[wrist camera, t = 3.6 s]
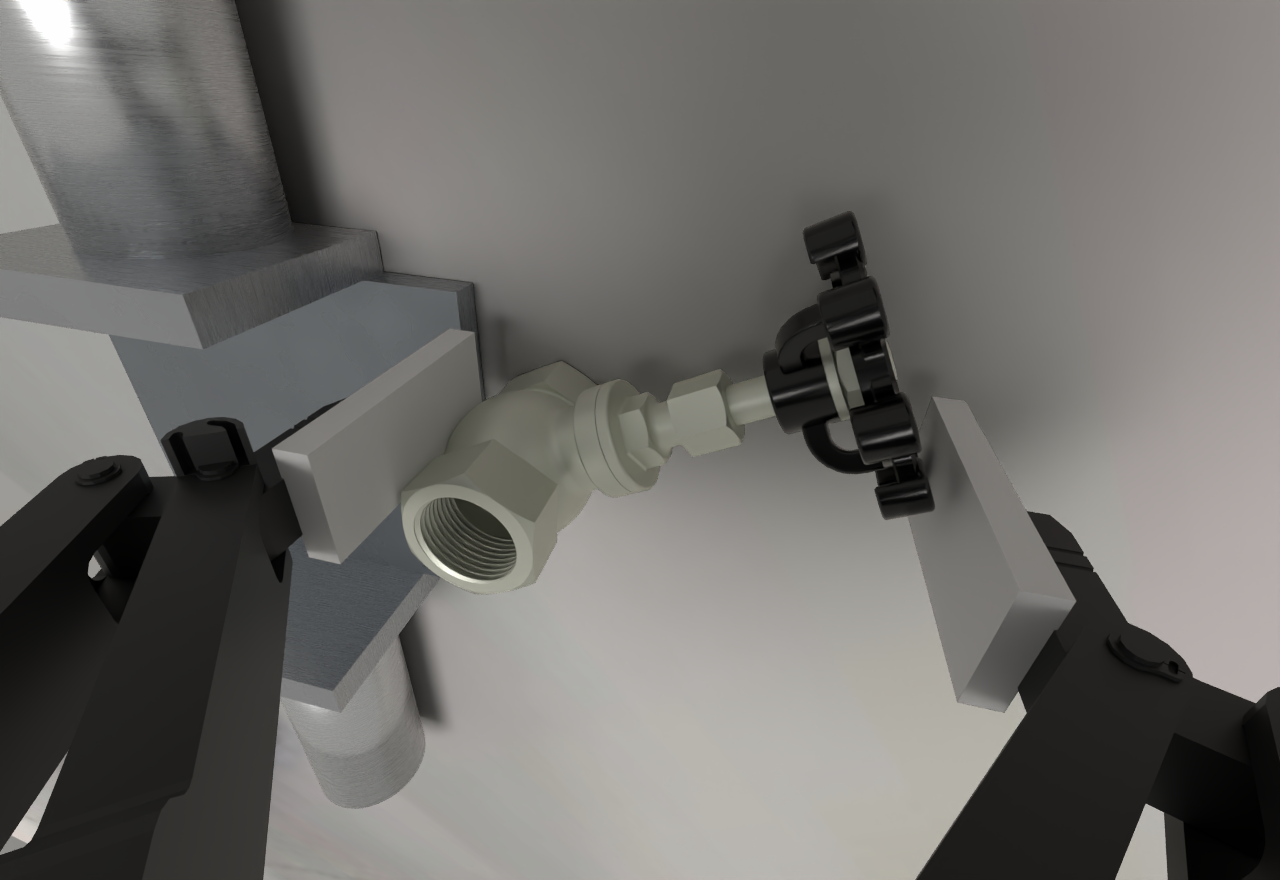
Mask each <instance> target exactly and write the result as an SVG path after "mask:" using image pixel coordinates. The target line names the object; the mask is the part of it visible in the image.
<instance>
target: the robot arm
mask: <svg viewBox="0 0 1280 880" xmlns="http://www.w3.org/2000/svg"><path fill="white" fill-rule="evenodd" d="M480 403H482V397H481V388H480V378H479V369H478V360H477V351H476V341H475V332H470V331H463V330H456V329H448V330H447V331H445V332H444V333H442V334H441V335H440V336H438V337H437V338H435V339H434V340H432V341H431V342H429V343H428V344H426V345H425V346H423V347H422V348H420V349H419V350H417V351H416V352H414V353H413V354H411V355H410V356H408V357H407V358H405V359H404V360H402V361H401V362H399V363H398V364H396V365H395V366H394V367H392V368H391V369H389V370H388V371H386V372H385V373H383V374H382V375H380V376H379V377H377V378H376V379H374V380H373V381H371V382H370V383H368V384H367V385H365V386H364V387H362V388H361V389H359V390H358V391H356V392H355V393H353V394H352V395H350V396H349V397H348V398H344V399H342V400H339V401H337V402H334V403H331V404H329V405H326V406H323V407H322V408H320V409H319V410H317V411H316V412H314V413H313V414H311V415H310V416H308V417H307V420H305V419H304V420H302V421H301V422H299V423H298V424H296V425H294V428H293V429H292V428H290V429H288V430H287V431H285V432H284V433H282V434H281V435H279V436H278V437H276V438H275V439H273V440H272V441H270V442H269V443H267V444H266V445H264V446H263V447H261V448H260V449H258V450H256V451H255V452H253V449H252V446H251V444H250V441H249V438H248V435H247V433H246V430H245V427H244V424H243V422H241V421H239V420H237V419H235V418H228V417H215V418H206V419H201V420H196V421H192V422H189V423H187V424H184V425H181V426H178V427H177V428H175V429H173V430H171V431H170V432H168V433H166V435H165V436H164V437H163V438H162V439H161V440H160V441H161V443H162V446H163V448H164V450H165V452H166V454H167V456H168V459H169V461H170V463H171V465H172V467H173V469H174V472H175V474H176V476H168V477H149V476H148V474H147V472H146V470H145V468H144V466H143V464H142V462H141V459H139V458H136V457H134V456H126V455H116V456H109V457H107V456H103V457H99V458H96V459H95V460H94V459H91V460H88V461H85V462H83V463H82V464H80V465H78V466H75V467H73V468H71V469H69V470H68V471H66V472H65V473H63V474H61V475H60V476H59V477H57V478H56V479H55V480H54V481H53V482H52V483H50V484H49V485H48V486H47V487H46V488H45V489H43V490H42V491H41V492H40V493H39V494H38V495H36V496H35V497H34V498H33V499H32V500H31V501H30V502H28V503H27V504H26V505H25V506H24V507H23V508H21V509H20V510H19V511H18V512H17V513H16V514H14V515H13V516H12V517H11V518H10V519H9V520H7V521H6V522H5V523H4V524H3V525H2V526H0V851H1V850H2V848H3V846H4V845H5V844H6V842H7V841H8V839H9V838H10V836H11V835H12V833H13V832H14V830H15V829H16V827H17V826H18V824H19V823H20V821H21V820H22V818H23V817H24V815H25V814H26V812H27V811H28V809H29V808H30V806H31V805H32V803H33V802H34V801H35V799H36V798H37V796H38V795H39V793H40V792H41V790H42V789H43V787H44V786H45V784H46V783H47V781H48V780H49V778H50V777H51V775H52V774H53V772H54V771H55V769H56V768H57V766H58V765H59V763H60V762H61V760H62V759H63V757H64V756H65V754H66V753H67V751H68V750H69V751H68V753H67V756H66V759H65V761H64V764H63V766H62V769H61V771H60V774H59V776H58V779H57V781H56V784H55V786H54V789H53V791H52V794H51V796H50V799H49V801H48V804H47V806H46V809H45V812H44V814H43V817H42V819H41V822H40V824H39V827H38V829H37V831H36V833H35V834H34V836H33V838H32V840H31V841H30V842H29V843H28V844H27V845H26V846H25V847H23V848H20V849H17V850H14V851H12V852H8V853H5V854H2V855H0V880H263V875H264V864H265V854H266V843H267V832H268V822H269V811H270V800H271V789H272V779H273V768H274V757H275V747H276V736H277V725H278V715H279V704H280V693H281V683H282V672H283V661H284V650H285V640H286V629H287V618H288V608H289V597H290V586H291V576H292V565H293V560H292V557H291V553H290V551H289V548H288V547H290V546H291V545H292V544H293V543H294V542H295V541H296V540H297V539H299V538H300V537H301V536H302V539H303V541H304V544H305V547H306V550H307V553H308V556H309V557H310V558H315V559H319V560H324V561H328V562H333V563H337V564H341V563H342V562H343V561H344V560H345V559H346V558H347V557H348V556H349V555H350V554H351V553H352V552H353V551H354V550H355V549H356V548H357V547H358V546H359V545H360V544H361V543H362V542H363V541H364V540H365V539H366V538H367V537H368V536H369V535H370V534H371V533H372V531H373V530H374V529H375V528H376V527H377V526H378V525H379V524H380V523H381V522H382V521H383V520H384V519H385V518H386V517H387V516H388V515H389V514H390V513H391V512H392V511H393V510H394V509H395V508H396V507H397V506H398V505H399V504H400V503H401V491H402V490H403V489H404V488H405V487H406V486H407V485H408V484H409V483H410V482H411V481H412V480H413V479H414V478H415V477H416V476H417V475H418V474H419V473H420V472H421V471H422V470H423V469H424V468H425V467H426V466H427V465H428V464H429V463H430V462H431V461H432V460H433V459H434V458H435V457H438V456H441V455H444V454H445V450H446V447H447V444H448V442H449V439H450V437H451V435H452V433H453V431H454V430H455V428H456V427H457V425H458V424H459V422H460V421H461V420H462V419H463V418H464V417H465V416H466V414H467V413H468V412H470V411H471V410H472V409H473V408H474V407H476V406H477V405H478V404H480ZM919 435H920V439H921V444H922V451H921V452H920V453H918V457H919V458H920V459H922V461H923V464H924V467H925V470H926V473H927V477H928V480H929V484H930V487H931V491H932V495H933V498H934V503H935V510H934V511H932V512H928V513H922V514H917V515H911V516H908V519H909V522H910V526H911V530H912V534H913V537H914V541H915V545H916V549H917V552H918V556H919V560H920V564H921V568H922V571H923V575H924V579H925V583H926V586H927V590H928V594H929V598H930V601H931V605H932V609H933V613H934V616H935V620H936V624H937V628H938V632H939V635H940V639H941V643H942V647H943V650H944V654H945V658H946V662H947V665H948V669H949V673H950V677H951V681H952V684H953V688H954V692H955V696H956V699H957V702H958V703H963V704H967V705H972V706H976V707H981V708H985V709H990V710H994V711H999V712H1003V713H1005V711H1006V710H1007V708H1008V706H1009V705H1010V703H1011V702H1012V700H1013V699H1014V697H1015V696H1016V694H1017V693H1018V691H1019V693H1020V696H1021V699H1022V701H1023V704H1024V707H1025V709H1026V712H1027V714H1026V715H1025V717H1024V718H1023V720H1022V721H1021V723H1020V724H1019V726H1018V727H1017V729H1016V730H1015V732H1014V733H1013V735H1012V736H1011V737H1010V739H1009V740H1008V742H1007V743H1006V745H1005V746H1004V748H1003V749H1002V751H1001V753H1000V754H999V756H998V757H997V759H996V760H995V762H994V763H993V764H992V766H991V767H990V769H989V770H988V772H987V773H986V775H985V776H984V778H983V779H982V781H981V782H980V784H979V785H978V787H977V788H976V790H975V791H974V793H973V794H972V796H971V797H970V799H969V800H968V802H967V803H966V805H965V806H964V808H963V809H962V811H961V812H960V814H959V815H958V817H957V818H956V820H955V821H954V823H953V824H952V826H951V827H950V829H949V830H948V832H947V833H946V835H945V836H944V838H943V839H942V841H941V842H940V844H939V845H938V847H937V848H936V850H935V851H934V853H933V854H932V856H931V857H930V859H929V860H928V862H927V863H926V865H925V866H924V868H923V869H922V871H921V872H920V874H919V875H918V876H917V878H916V879H915V880H1115V878H1116V876H1117V873H1118V871H1119V868H1120V866H1121V863H1122V861H1123V858H1124V856H1125V853H1126V851H1127V848H1128V846H1129V843H1130V841H1131V838H1132V836H1133V833H1134V831H1135V828H1136V826H1137V823H1138V821H1139V818H1140V816H1141V813H1142V811H1143V808H1144V806H1145V804H1148V805H1150V806H1152V807H1154V808H1156V809H1158V810H1160V811H1162V812H1164V820H1165V838H1166V855H1167V873H1168V880H1280V687H1277V688H1275V689H1273V690H1271V691H1269V692H1267V693H1266V694H1265V695H1264V696H1263V697H1262V698H1261V699H1260V700H1259V701H1258V702H1257V703H1253V702H1251V701H1248V700H1246V699H1243V698H1241V697H1238V696H1236V695H1234V694H1231V693H1229V692H1226V691H1224V690H1221V689H1219V688H1216V687H1214V686H1211V685H1209V684H1206V683H1204V682H1201V681H1199V680H1197V679H1195V678H1193V674H1192V672H1191V670H1190V669H1189V667H1188V665H1187V664H1186V662H1185V661H1184V659H1183V658H1182V657H1181V656H1180V655H1179V654H1178V653H1177V652H1175V651H1174V650H1173V649H1172V648H1171V647H1170V646H1169V645H1168V644H1166V643H1165V642H1163V641H1162V640H1160V639H1159V638H1157V637H1156V636H1154V635H1152V634H1151V633H1149V632H1147V631H1145V630H1143V629H1140V628H1138V627H1136V626H1134V625H1131V624H1129V623H1128V622H1127V621H1126V619H1125V617H1124V616H1123V614H1122V613H1121V611H1120V609H1119V608H1118V606H1117V605H1116V603H1115V601H1114V600H1113V598H1112V597H1111V595H1110V594H1109V592H1108V590H1107V589H1106V587H1105V586H1104V584H1103V582H1102V581H1101V579H1100V578H1099V576H1098V574H1097V573H1096V572H1093V569H1094V568H1093V567H1092V565H1091V563H1090V562H1089V560H1088V559H1087V557H1086V556H1083V554H1084V552H1083V551H1082V549H1081V547H1080V546H1079V544H1078V543H1077V541H1076V539H1075V538H1074V536H1073V535H1072V533H1071V532H1069V531H1068V530H1067V529H1066V528H1065V527H1063V526H1062V525H1061V524H1060V523H1059V522H1058V521H1056V520H1055V519H1054V518H1053V517H1052V516H1050V515H1047V514H1041V513H1035V512H1029V511H1026V509H1025V508H1024V506H1023V504H1022V502H1021V500H1020V499H1019V497H1018V495H1017V493H1016V491H1015V490H1014V488H1013V486H1012V484H1011V482H1010V481H1009V479H1008V477H1007V475H1006V473H1005V472H1004V470H1003V468H1002V466H1001V464H1000V463H999V461H998V459H997V457H996V455H995V454H994V452H993V450H992V448H991V446H990V445H989V443H988V441H987V439H986V437H985V435H984V434H983V432H982V430H981V428H980V426H979V425H978V423H977V421H976V419H975V417H974V416H973V414H972V412H971V410H970V408H969V407H968V405H967V403H966V401H962V400H955V399H947V398H940V397H933V396H932V399H931V401H930V404H929V407H928V410H927V412H926V415H925V418H924V421H923V424H922V426H921V429H920V432H919ZM93 555H94V557H95V559H96V560H97V562H98V563H99V565H100V567H101V568H102V569H101V570H100V571H99V572H98V573H97V575H96V576H95V577H93V578H90V577H89V576H88V566H89V561H90V560H91V558H92V556H93Z"/></svg>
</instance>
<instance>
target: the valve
mask: <svg viewBox="0 0 1280 880" xmlns="http://www.w3.org/2000/svg"><path fill="white" fill-rule="evenodd" d="M803 237H804V241H805V245H806V249H807V252H808V256H809V259H810V263H811V264H816V265H817V267H818V270H819V273H820V276H821V279H822V280H827V279H830V278H831V281H832V286H833V289H830V290H827V291H825V292H822V293H819V294H818V295H817V301H818V304H815V305H813V306H810V307H808V308H805V309H804V310H802V311H800V312H798V313H796V314H795V315H794V316H792V317H791V318H790V319H789V320H788V321H787V322H786V323H785V324H784V325H783V326H782V328H781V329H780V331H779V333H778V334H777V338H776V341H775V350H771V351H768V352H766V353H765V354H764V356H763V370H764V375H763V376H760V377H756V378H753V379H750V380H746V381H743V382H740V383H736V384H733V383H732V381H731V379H730V378H729V376H728V375H727V374H726V373H725V372H724V371H723V370H721V369H718V370H715V371H712V372H709V373H706V374H702V375H699V376H696V377H693V378H690V379H687V380H683V381H680V382H677V383H674V384H673V387H672V389H671V391H670V394H669V396H668V398H667V401H665V402H662V403H660V402H659V401H658V400H657V399H656V398H655V397H654V396H653V395H652V394H650V393H649V392H645V393H642V394H639V392H638V391H637V390H636V389H635V388H634V387H633V385H631V384H630V383H628V382H627V381H625V380H621V379H616V380H613V381H610V382H607V383H604V384H601V385H596V384H595V383H594V382H593V381H591V380H590V379H589V378H588V377H586V376H585V375H583V374H582V373H580V372H579V371H578V370H576V369H575V368H573V367H571V366H570V365H568V364H566V363H564V362H563V361H560V362H556V363H553V364H550V365H547V366H544V367H541V368H538V369H535V370H533V371H530V372H528V373H525V374H523V375H520V376H518V377H516V378H514V379H512V380H511V381H510V382H509V383H508V384H507V385H506V386H505V387H504V388H503V389H502V390H501V391H500V392H499V393H498V394H497V395H496V396H494V397H491V398H489V399H487V400H485V401H483V402H482V403H480V404H478V405H477V406H476V407H474V408H473V409H472V410H471V411H470V412H468V413H467V414H466V416H465V417H464V418H463V419H462V420H461V421H460V422H459V424H458V425H457V427H456V428H455V430H454V431H453V433H452V435H451V437H450V439H449V442H448V444H447V447H446V450H445V454H444V455H441V456H438V457H435V458H434V459H433V460H432V461H431V462H430V463H429V464H428V465H427V466H426V467H425V468H424V469H423V470H422V471H421V472H420V473H419V474H418V475H417V476H416V477H415V478H414V479H413V480H412V481H411V482H410V483H409V484H408V485H407V486H406V487H405V488H404V489H403V490H402V491H401V513H402V523H403V529H404V533H405V537H406V541H407V543H408V546H409V548H410V550H411V552H412V553H413V554H414V555H415V556H416V557H417V558H418V559H419V560H420V561H421V562H422V563H423V564H424V565H425V566H426V567H428V568H429V569H430V570H431V571H433V572H434V573H435V574H437V575H438V576H439V577H441V578H442V579H444V580H446V581H447V582H449V583H451V584H453V585H455V586H457V587H459V588H461V589H464V590H466V591H468V592H471V593H474V594H495V593H503V592H507V591H511V590H515V589H519V588H522V587H525V586H528V585H531V584H533V583H536V581H537V579H538V577H539V575H540V573H541V571H542V569H543V567H544V566H545V564H546V562H547V560H548V558H549V556H550V554H551V552H552V551H553V549H554V547H555V545H556V543H557V533H558V532H559V531H561V530H562V529H564V528H565V527H566V526H567V525H569V524H570V523H571V522H572V521H573V520H574V519H575V518H576V517H577V516H578V514H579V513H580V512H581V511H582V509H583V508H584V506H585V505H586V503H587V501H588V499H589V497H590V495H591V493H592V491H593V490H597V489H599V490H600V491H601V492H602V493H604V494H605V495H607V496H610V497H621V496H625V495H629V494H633V493H638V492H641V491H646V490H649V489H651V488H652V487H653V486H654V485H655V483H656V481H657V479H658V475H659V471H660V465H664V464H666V463H667V461H668V460H669V458H670V456H671V454H672V449H673V447H674V446H678V445H682V446H683V448H684V449H685V450H686V451H687V452H688V453H689V454H690V455H691V456H692V457H696V456H699V455H703V454H707V453H711V452H715V451H719V450H723V449H727V448H731V447H735V446H739V445H741V443H742V441H743V438H744V435H745V424H747V423H751V422H755V421H758V420H762V419H766V418H769V417H773V416H776V418H777V420H778V422H779V424H780V426H781V428H782V429H783V431H784V432H785V433H787V434H792V433H796V432H800V431H802V432H803V435H804V439H805V441H806V444H807V446H808V448H809V450H810V451H811V453H812V454H813V455H814V456H815V458H816V459H817V460H818V461H819V462H821V463H822V464H824V465H825V466H826V467H828V468H830V469H832V470H835V471H837V472H841V473H845V474H862V473H868V472H873V471H875V473H876V478H877V483H878V487H876V488H875V489H874V490H875V494H876V497H877V501H878V504H879V508H880V511H881V514H882V517H883V518H884V519H885V520H889V519H894V518H900V517H906V516H911V515H917V514H922V513H928V512H932V511H934V510H935V503H934V498H933V495H932V491H931V487H930V484H929V480H928V477H927V473H926V470H925V467H924V464H923V461H922V459H920V458H919V457H918V453H920V452H921V451H922V444H921V439H920V435H919V432H918V428H917V424H916V421H915V417H914V414H913V410H912V407H911V404H910V401H909V398H908V396H907V394H906V393H904V392H899V389H898V385H897V382H896V381H897V379H898V377H897V373H896V369H895V365H894V361H893V358H892V354H891V351H890V347H889V344H888V342H886V341H885V339H886V338H888V337H889V335H890V329H889V325H888V320H887V316H886V312H885V309H884V305H883V301H882V298H881V294H880V291H879V288H878V285H877V282H876V280H875V278H874V277H872V276H868V277H866V276H867V271H866V267H865V266H866V264H867V259H866V254H865V250H864V246H863V242H862V238H861V235H860V231H859V227H858V224H857V221H856V218H855V215H854V213H853V212H852V211H847V212H845V213H842V214H840V215H837V216H834V217H832V218H829V219H827V220H824V221H822V222H819V223H817V224H814V225H812V226H809V227H806V228H804V229H803ZM850 408H851V409H850ZM847 419H851V424H852V428H853V431H854V435H855V439H856V442H857V446H858V449H856V450H845V449H842V448H840V447H839V446H837V445H836V444H835V443H834V441H833V440H832V437H831V434H830V431H829V427H828V424H831V423H835V422H839V421H843V420H847Z"/></svg>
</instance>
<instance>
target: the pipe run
mask: <svg viewBox="0 0 1280 880" xmlns="http://www.w3.org/2000/svg"><path fill="white" fill-rule="evenodd" d="M0 95H1V97H2V100H3V102H4V104H5V106H6V108H7V110H8V113H9V115H10V117H11V119H12V121H13V123H14V125H15V128H16V130H17V132H18V134H19V136H20V138H21V141H22V143H23V145H24V147H25V149H26V151H27V154H28V156H29V158H30V160H31V162H32V164H33V167H34V169H35V171H36V173H37V175H38V177H39V179H40V182H41V184H42V186H43V188H44V190H45V192H46V195H47V197H48V199H49V201H50V203H51V205H52V208H53V210H54V212H55V214H56V216H57V218H58V220H59V223H60V224H55V225H50V226H44V227H38V228H33V229H27V230H21V231H15V232H10V233H4V234H0V317H3V318H10V319H16V320H22V321H28V322H35V323H41V324H47V325H53V326H60V327H66V328H72V329H78V330H85V331H91V332H97V333H103V334H109V336H110V338H111V340H112V342H113V345H114V347H115V349H116V351H117V353H118V355H119V358H120V360H121V362H122V364H123V366H124V368H125V370H126V373H127V375H128V377H129V379H130V381H131V383H132V385H133V388H134V390H135V392H136V394H137V396H138V398H139V400H140V403H141V405H142V407H143V409H144V411H145V413H146V415H147V418H148V420H149V422H150V424H151V426H152V428H153V431H154V433H155V435H156V437H157V439H158V441H159V443H160V446H161V448H162V450H163V452H164V454H165V456H166V458H167V461H168V463H169V465H170V467H171V469H172V471H173V473H174V476H176V474H175V472H174V469H173V467H172V465H171V463H170V461H169V459H168V456H167V454H166V452H165V450H164V448H163V446H162V443H161V441H160V440H161V439H162V438H163V437H164V436H165V435H166V433H168V432H170V431H171V430H173V429H175V428H177V427H178V426H181V425H184V424H187V423H189V422H192V421H196V420H201V419H206V418H215V417H228V418H235V419H237V420H239V421H241V422H243V424H244V427H245V430H246V433H247V435H248V438H249V441H250V444H251V446H252V449H253V452H255V451H256V450H258V449H260V448H261V447H263V446H264V445H266V444H267V443H269V442H270V441H272V440H273V439H275V438H276V437H278V436H279V435H281V434H282V433H284V432H285V431H287V430H288V429H290V428H292V429H293V428H294V425H296V424H298V423H299V422H301V421H302V420H304V419H305V420H307V417H308V416H310V415H311V414H313V413H314V412H316V411H317V410H319V409H320V408H322V407H323V406H326V405H329V404H331V403H334V402H337V401H339V400H342V399H344V398H348V397H349V396H350V395H352V394H353V393H355V392H356V391H358V390H359V389H361V388H362V387H364V386H365V385H367V384H368V383H370V382H371V381H373V380H374V379H376V378H377V377H379V376H380V375H382V374H383V373H385V372H386V371H388V370H389V369H391V368H392V367H394V366H395V365H396V364H398V363H399V362H401V361H402V360H404V359H405V358H407V357H408V356H410V355H411V354H413V353H414V352H416V351H417V350H419V349H420V348H422V347H423V346H425V345H426V344H428V343H429V342H431V341H432V340H434V339H435V338H437V337H438V336H440V335H441V334H442V333H444V332H445V331H447V330H448V329H456V330H463V331H470V332H475V341H476V351H477V360H478V369H479V378H480V388H481V397H482V402H483V401H485V396H484V386H483V377H482V367H481V358H480V348H479V339H478V329H477V320H476V310H475V301H474V291H473V283H469V282H461V281H453V280H445V279H437V278H429V277H421V276H413V275H405V274H397V273H389V272H384V271H383V265H382V260H381V255H380V249H379V244H378V239H377V233H376V232H375V231H366V230H357V229H348V228H339V227H330V226H321V225H312V224H303V223H294V222H292V221H291V217H290V213H289V209H288V205H287V201H286V197H285V194H284V190H283V186H282V182H281V178H280V174H279V170H278V167H277V163H276V159H275V155H274V151H273V147H272V143H271V140H270V136H269V132H268V128H267V124H266V120H265V116H264V112H263V109H262V105H261V101H260V97H259V93H258V89H257V85H256V82H255V78H254V74H253V70H252V66H251V62H250V58H249V54H248V51H247V47H246V43H245V39H244V35H243V31H242V27H241V24H240V20H239V16H238V12H237V8H236V4H235V0H0ZM288 548H289V551H290V553H291V557H292V560H293V565H292V576H291V586H290V597H289V608H288V618H287V629H286V640H285V650H284V661H283V672H282V683H281V693H280V700H281V702H282V704H283V706H284V708H285V710H286V713H287V715H288V717H289V719H290V721H291V723H292V726H293V728H294V730H295V732H296V734H297V736H298V739H299V741H300V743H301V745H302V747H303V749H304V751H305V754H306V756H307V758H308V760H309V762H310V764H311V767H312V769H313V771H314V773H315V775H316V777H317V780H318V782H319V784H320V786H321V788H322V790H323V793H324V794H325V795H326V797H327V798H328V799H329V800H330V801H331V802H333V803H335V804H336V805H339V806H341V807H345V808H354V809H356V808H365V807H370V806H373V805H376V804H378V803H381V802H383V801H385V800H387V799H388V798H390V797H392V796H393V795H395V794H396V793H397V792H399V791H400V790H401V789H402V788H403V787H404V786H405V785H406V784H407V783H408V782H409V781H410V780H411V778H412V777H413V776H414V775H415V773H416V771H417V770H418V768H419V766H420V764H421V762H422V759H423V756H424V752H425V735H424V731H423V727H422V723H421V719H420V715H419V712H418V708H417V704H416V700H415V696H414V692H413V688H412V685H411V681H410V677H409V673H408V669H407V665H406V661H405V657H404V654H403V650H402V646H401V642H400V638H399V633H400V632H401V631H402V629H403V628H404V627H405V625H406V624H407V623H408V621H409V620H410V618H411V617H412V616H413V614H414V613H415V612H416V610H417V609H418V608H419V606H420V605H421V604H422V602H423V601H424V599H425V598H426V597H427V595H428V594H429V593H430V591H431V590H432V589H433V587H434V586H435V584H436V583H437V582H438V580H439V579H440V578H441V577H439V576H438V575H437V574H435V573H434V572H433V571H431V570H430V569H429V568H428V567H426V566H425V565H424V564H423V563H422V562H421V561H420V560H419V559H418V558H417V557H416V556H415V555H414V554H413V553H412V552H411V550H410V548H409V546H408V543H407V541H406V537H405V533H404V529H403V523H402V513H401V503H400V504H399V505H398V506H397V507H396V508H395V509H394V510H393V511H392V512H391V513H390V514H389V515H388V516H387V517H386V518H385V519H384V520H383V521H382V522H381V523H380V524H379V525H378V526H377V527H376V528H375V529H374V530H373V531H372V533H371V534H370V535H369V536H368V537H367V538H366V539H365V540H364V541H363V542H362V543H361V544H360V545H359V546H358V547H357V548H356V549H355V550H354V551H353V552H352V553H351V554H350V555H349V556H348V557H347V558H346V559H345V560H344V561H343V562H342V563H341V564H337V563H333V562H328V561H324V560H319V559H315V558H310V557H309V556H308V553H307V550H306V547H305V544H304V541H303V539H302V536H301V537H300V538H299V539H297V540H296V541H295V542H294V543H293V544H292V545H291V546H290V547H288Z"/></svg>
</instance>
